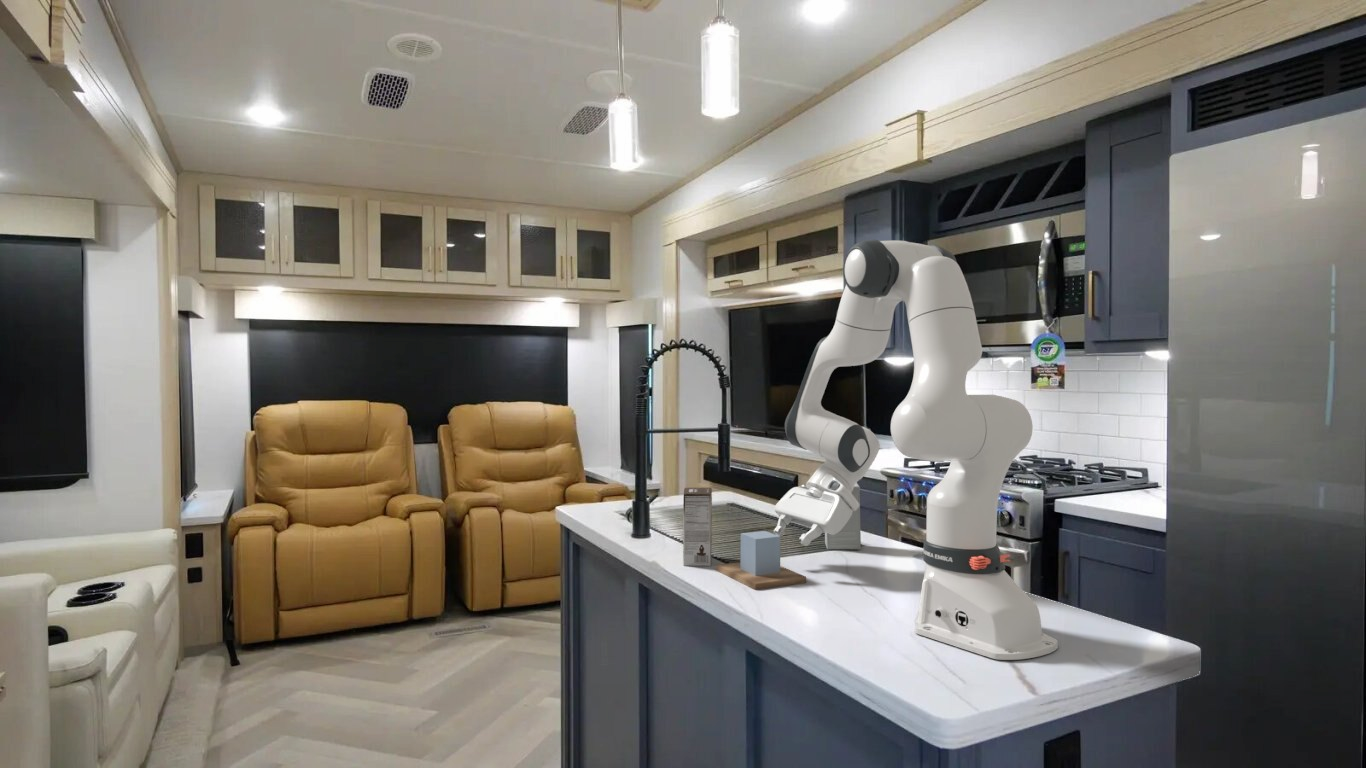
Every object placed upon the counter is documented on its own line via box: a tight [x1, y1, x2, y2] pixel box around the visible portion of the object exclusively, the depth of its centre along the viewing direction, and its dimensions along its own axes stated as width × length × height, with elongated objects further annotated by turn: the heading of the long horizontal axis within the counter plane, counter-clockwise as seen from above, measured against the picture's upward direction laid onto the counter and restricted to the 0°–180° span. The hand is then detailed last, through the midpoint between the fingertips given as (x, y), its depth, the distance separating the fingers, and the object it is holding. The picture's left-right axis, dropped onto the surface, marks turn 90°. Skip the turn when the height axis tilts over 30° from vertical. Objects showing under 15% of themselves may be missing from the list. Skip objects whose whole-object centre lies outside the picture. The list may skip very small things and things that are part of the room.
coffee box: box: [682, 487, 713, 567], centre depth 171 cm, size 9×6×16 cm
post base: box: [716, 561, 807, 590], centre depth 158 cm, size 16×12×7 cm
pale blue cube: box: [740, 530, 781, 576], centre depth 158 cm, size 6×6×8 cm
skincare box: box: [824, 481, 862, 550], centre depth 184 cm, size 8×7×16 cm
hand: (789, 538), depth 161 cm, fingers open, 8 cm apart
